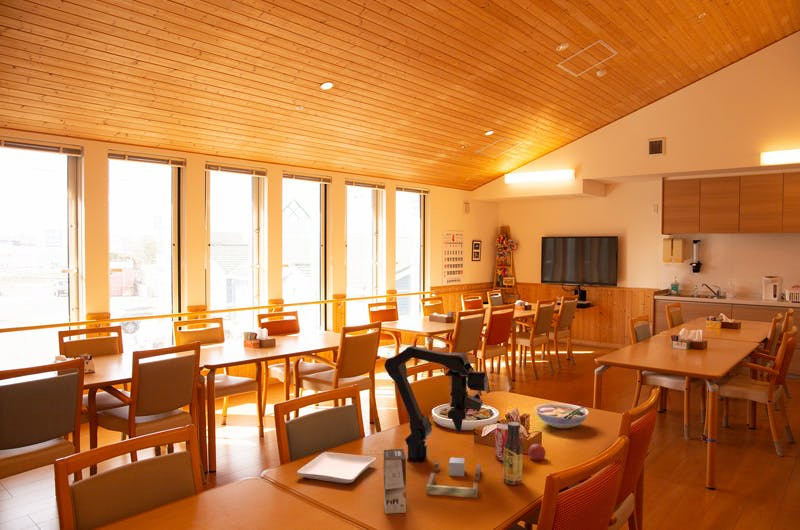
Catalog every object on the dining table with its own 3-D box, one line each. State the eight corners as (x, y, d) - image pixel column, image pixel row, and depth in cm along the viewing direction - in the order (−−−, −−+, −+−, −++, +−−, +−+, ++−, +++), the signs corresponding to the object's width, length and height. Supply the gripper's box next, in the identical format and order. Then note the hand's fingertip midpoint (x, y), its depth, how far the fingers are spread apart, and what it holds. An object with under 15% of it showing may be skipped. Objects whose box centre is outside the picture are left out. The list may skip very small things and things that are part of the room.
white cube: (449, 475, 197) (449, 462, 197) (450, 470, 202) (450, 457, 202) (463, 476, 196) (463, 463, 196) (464, 471, 201) (464, 458, 201)
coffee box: (406, 513, 168) (406, 459, 168) (384, 514, 168) (384, 459, 168) (403, 499, 178) (403, 448, 177) (383, 500, 177) (382, 449, 177)
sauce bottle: (499, 480, 192) (499, 421, 192) (515, 477, 195) (515, 419, 194) (510, 487, 186) (510, 426, 186) (526, 484, 189) (526, 424, 188)
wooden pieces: (426, 493, 182) (426, 486, 182) (435, 468, 204) (435, 461, 204) (476, 497, 179) (476, 489, 179) (480, 471, 201) (480, 464, 201)
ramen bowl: (547, 415, 268) (547, 398, 268) (596, 424, 255) (596, 405, 255) (525, 429, 248) (525, 410, 248) (577, 439, 235) (577, 419, 234)
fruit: (527, 462, 214) (520, 446, 211) (536, 452, 217) (529, 436, 214) (541, 467, 209) (534, 451, 206) (549, 456, 212) (542, 440, 210)
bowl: (504, 432, 244) (504, 414, 244) (433, 432, 245) (433, 414, 244) (493, 413, 274) (493, 396, 274) (430, 413, 275) (430, 396, 274)
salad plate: (295, 480, 194) (295, 470, 194) (324, 459, 214) (324, 450, 214) (352, 489, 187) (352, 479, 186) (377, 466, 206) (377, 457, 206)
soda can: (514, 462, 209) (514, 429, 208) (494, 461, 210) (494, 428, 210) (514, 455, 216) (514, 424, 215) (495, 454, 217) (495, 423, 217)
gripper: (480, 396, 195) (480, 441, 196) (482, 383, 214) (482, 425, 214) (447, 394, 197) (447, 439, 198) (452, 382, 216) (453, 423, 216)
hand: (459, 431), depth 206 cm, fingers closed
